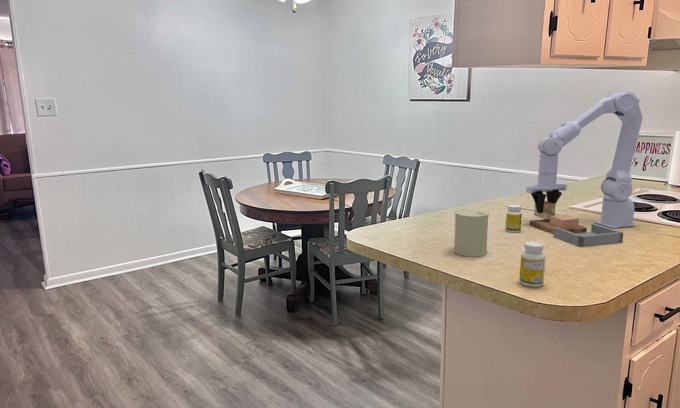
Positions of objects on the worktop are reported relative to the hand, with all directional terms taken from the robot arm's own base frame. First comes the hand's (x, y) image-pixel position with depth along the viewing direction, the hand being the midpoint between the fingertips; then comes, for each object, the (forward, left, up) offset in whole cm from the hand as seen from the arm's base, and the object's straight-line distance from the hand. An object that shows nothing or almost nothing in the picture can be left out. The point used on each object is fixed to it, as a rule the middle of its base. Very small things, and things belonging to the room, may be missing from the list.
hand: (544, 212), depth 168 cm
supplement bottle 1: (+15, +4, -4) cm, 16 cm away
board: (0, +7, -4) cm, 8 cm away
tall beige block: (0, 0, -2) cm, 2 cm away
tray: (0, +20, -4) cm, 20 cm away
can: (+40, +20, -4) cm, 45 cm away
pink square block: (0, +10, -3) cm, 10 cm away
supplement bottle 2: (+39, +46, -4) cm, 61 cm away
